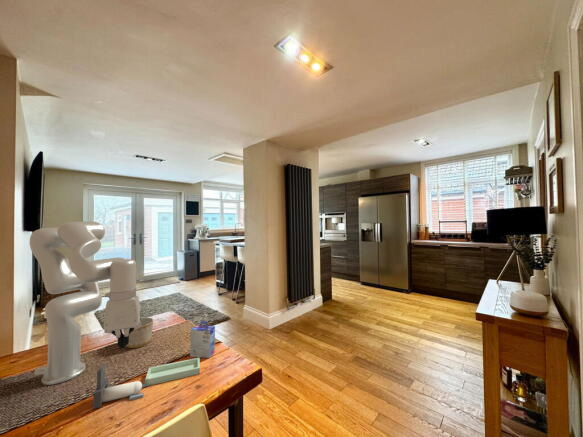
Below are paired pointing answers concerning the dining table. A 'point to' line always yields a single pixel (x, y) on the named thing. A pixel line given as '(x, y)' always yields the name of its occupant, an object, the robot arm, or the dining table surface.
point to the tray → (172, 371)
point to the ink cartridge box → (202, 341)
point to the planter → (141, 334)
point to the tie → (99, 387)
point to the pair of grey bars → (138, 394)
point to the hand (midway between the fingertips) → (123, 347)
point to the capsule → (121, 391)
